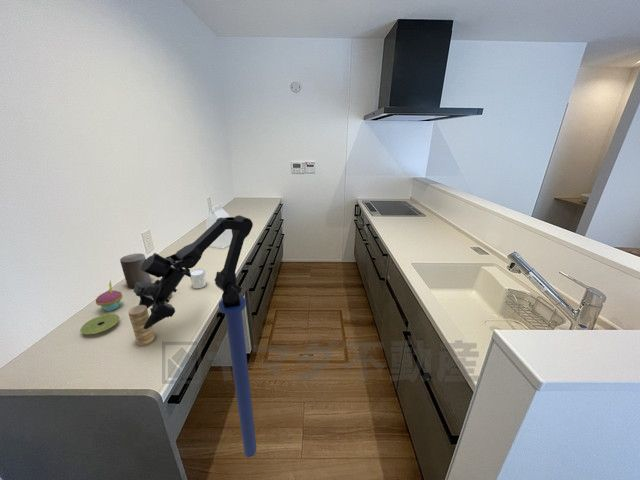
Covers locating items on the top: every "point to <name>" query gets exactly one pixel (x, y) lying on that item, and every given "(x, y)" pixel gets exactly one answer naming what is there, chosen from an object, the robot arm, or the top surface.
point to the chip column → (141, 324)
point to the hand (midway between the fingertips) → (140, 322)
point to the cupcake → (109, 299)
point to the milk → (226, 236)
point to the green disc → (99, 324)
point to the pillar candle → (134, 269)
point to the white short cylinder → (198, 278)
